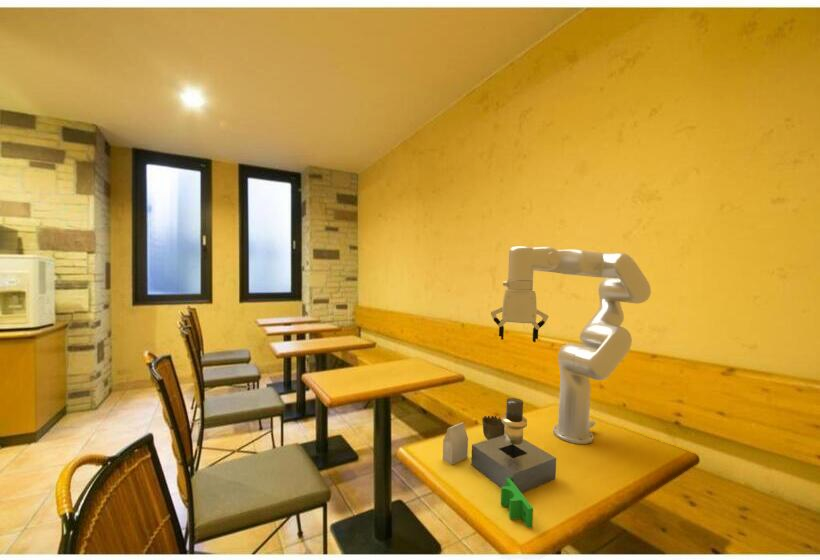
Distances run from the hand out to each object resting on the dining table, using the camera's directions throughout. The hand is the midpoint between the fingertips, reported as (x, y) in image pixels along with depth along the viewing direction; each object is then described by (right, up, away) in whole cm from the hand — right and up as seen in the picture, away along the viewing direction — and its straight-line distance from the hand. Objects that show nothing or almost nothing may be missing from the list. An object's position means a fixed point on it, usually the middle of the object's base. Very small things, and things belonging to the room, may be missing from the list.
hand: (517, 340), depth 112 cm
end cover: (-5, -26, -13) cm, 29 cm away
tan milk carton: (-21, -34, -6) cm, 41 cm away
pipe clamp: (-10, -36, -28) cm, 47 cm away
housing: (-5, -35, -13) cm, 37 cm away
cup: (-7, -34, +3) cm, 35 cm away
